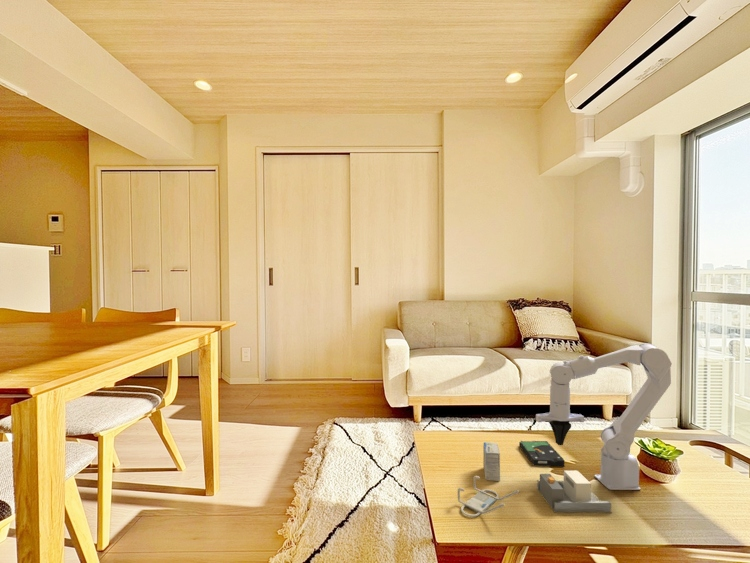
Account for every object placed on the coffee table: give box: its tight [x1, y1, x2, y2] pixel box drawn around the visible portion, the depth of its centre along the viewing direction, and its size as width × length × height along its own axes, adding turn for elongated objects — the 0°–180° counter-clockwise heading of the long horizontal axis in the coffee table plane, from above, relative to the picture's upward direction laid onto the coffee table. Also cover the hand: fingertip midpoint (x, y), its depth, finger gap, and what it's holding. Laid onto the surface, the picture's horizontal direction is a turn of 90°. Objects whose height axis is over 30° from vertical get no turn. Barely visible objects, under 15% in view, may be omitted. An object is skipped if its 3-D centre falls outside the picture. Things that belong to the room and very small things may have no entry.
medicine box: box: [482, 441, 501, 482], centre depth 122 cm, size 8×4×9 cm, turn 169°
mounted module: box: [539, 473, 564, 507], centre depth 109 cm, size 3×8×6 cm, turn 0°
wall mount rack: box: [457, 475, 520, 518], centre depth 105 cm, size 16×14×6 cm
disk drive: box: [518, 440, 565, 468], centre depth 135 cm, size 10×3×15 cm
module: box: [563, 470, 592, 501], centre depth 109 cm, size 4×7×6 cm, turn 0°
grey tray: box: [536, 480, 612, 514], centre depth 109 cm, size 15×11×3 cm
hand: (559, 443), depth 123 cm, fingers closed
